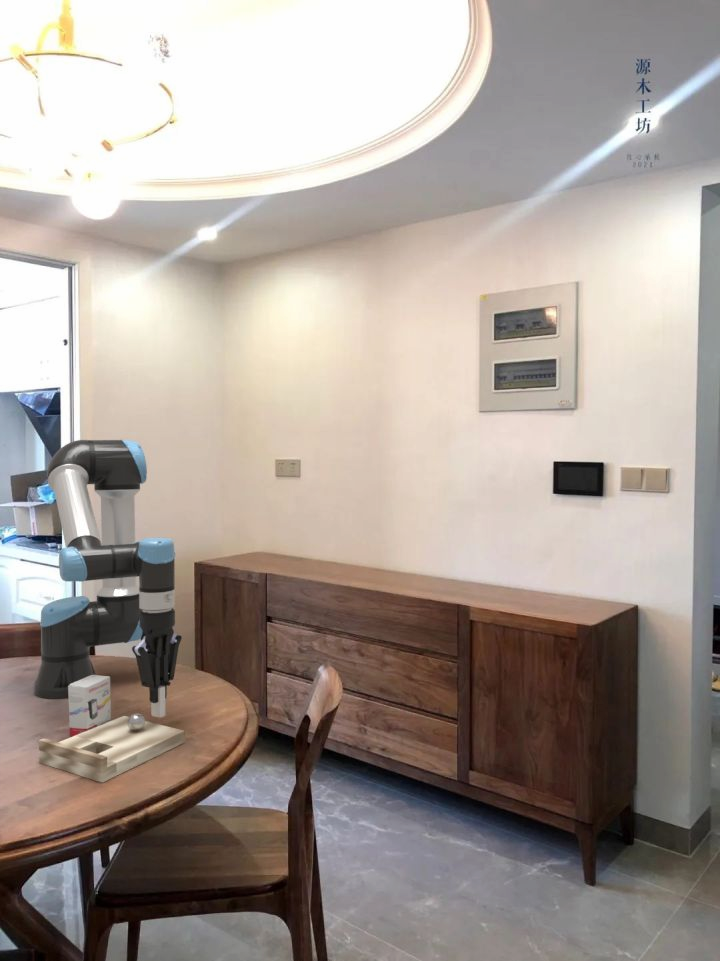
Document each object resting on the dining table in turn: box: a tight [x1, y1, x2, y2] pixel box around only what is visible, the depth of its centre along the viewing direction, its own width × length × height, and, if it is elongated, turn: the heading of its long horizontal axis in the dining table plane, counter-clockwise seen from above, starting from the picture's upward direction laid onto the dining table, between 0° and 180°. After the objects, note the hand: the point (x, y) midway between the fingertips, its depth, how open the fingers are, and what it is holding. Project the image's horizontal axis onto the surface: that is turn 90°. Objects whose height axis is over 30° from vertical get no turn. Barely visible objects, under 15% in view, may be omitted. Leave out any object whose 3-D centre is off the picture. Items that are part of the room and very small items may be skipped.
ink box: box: [68, 674, 112, 738], centre depth 162 cm, size 9×5×12 cm, turn 162°
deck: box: [38, 715, 186, 783], centre depth 152 cm, size 18×22×4 cm
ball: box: [127, 712, 146, 731], centre depth 157 cm, size 4×4×4 cm
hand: (158, 715), depth 163 cm, fingers closed
